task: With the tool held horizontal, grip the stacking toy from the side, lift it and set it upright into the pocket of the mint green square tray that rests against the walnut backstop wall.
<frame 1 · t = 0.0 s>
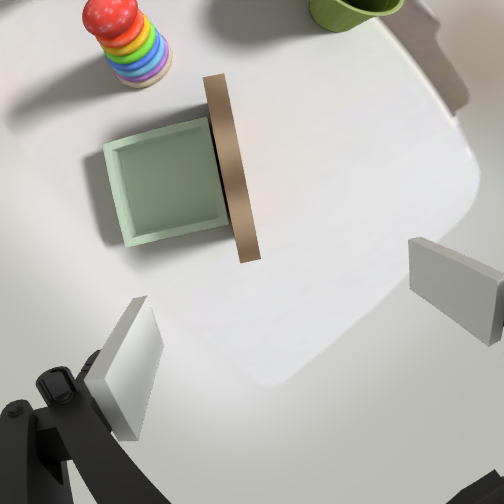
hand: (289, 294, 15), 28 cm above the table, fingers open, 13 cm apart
plant pot: (331, 12, 36), on the table
stacking toy: (144, 62, 36), on the table
backstop wall: (229, 168, 40), on the table
mint green square tray: (166, 182, 38), point 2 cm above the table, slide at 0.6 cm
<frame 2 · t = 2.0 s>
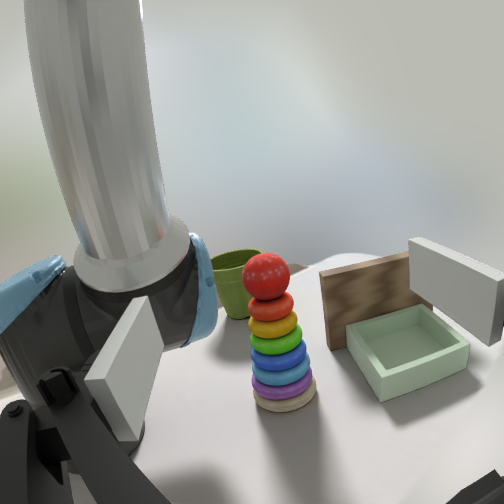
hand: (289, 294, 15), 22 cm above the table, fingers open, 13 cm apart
plant pot: (244, 312, 64), on the table
stacking toy: (285, 395, 39), on the table
backstop wall: (382, 332, 47), on the table
mint green square tray: (405, 347, 39), point 2 cm above the table, slide at 0.6 cm
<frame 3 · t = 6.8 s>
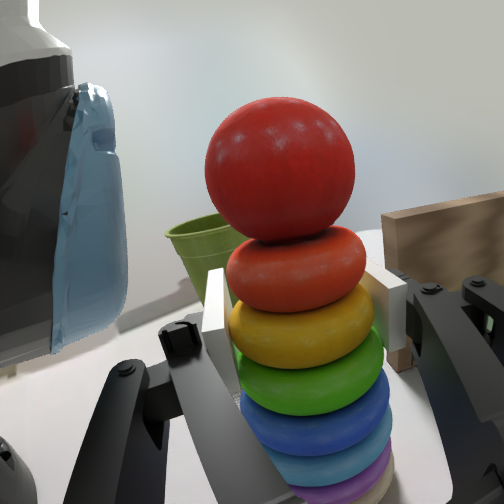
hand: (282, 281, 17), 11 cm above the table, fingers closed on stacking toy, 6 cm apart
plant pot: (233, 308, 41), on the table
stacking toy: (323, 479, 15), on the table, touching gripper
backstop wall: (474, 332, 23), on the table
when the fingers open (13 cm above the table, at t = 10.9 s): stacking toy drops 2 cm, resting on mint green square tray.
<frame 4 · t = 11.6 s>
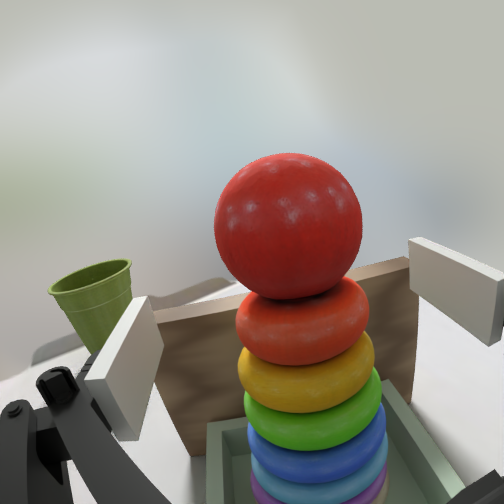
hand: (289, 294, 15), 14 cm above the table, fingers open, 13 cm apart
plant pot: (117, 352, 40), on the table
stacking toy: (323, 495, 15), point 1 cm above the table, touching mint green square tray
backstop wall: (302, 428, 22), on the table
mint green square tray: (326, 493, 14), point 2 cm above the table, slide at 0.6 cm, touching stacking toy
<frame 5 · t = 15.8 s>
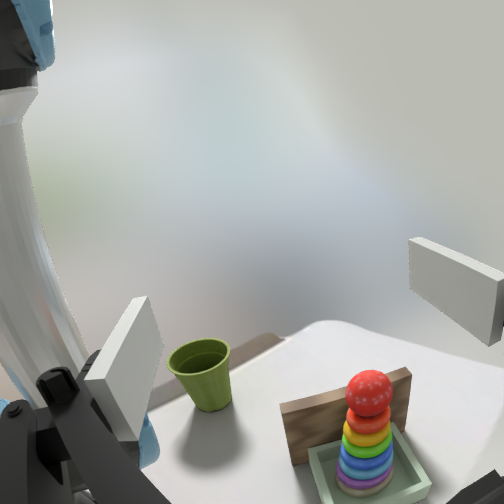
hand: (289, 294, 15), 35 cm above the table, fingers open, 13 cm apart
plant pot: (213, 401, 58), on the table
stacking toy: (363, 477, 34), point 1 cm above the table, touching mint green square tray
backstop wall: (349, 445, 41), on the table
mint green square tray: (366, 475, 33), point 2 cm above the table, slide at 0.6 cm, touching stacking toy
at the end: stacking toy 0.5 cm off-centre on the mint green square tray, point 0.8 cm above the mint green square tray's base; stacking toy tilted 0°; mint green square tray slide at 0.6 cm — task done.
